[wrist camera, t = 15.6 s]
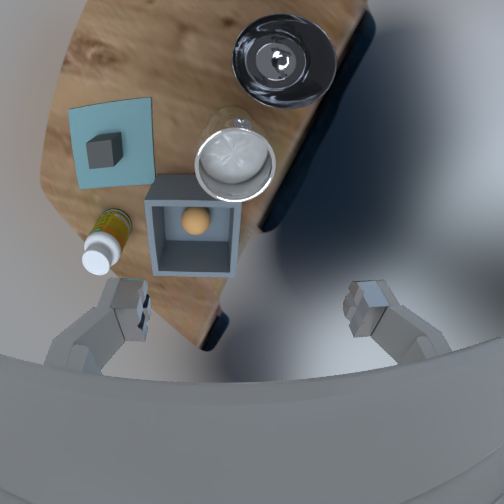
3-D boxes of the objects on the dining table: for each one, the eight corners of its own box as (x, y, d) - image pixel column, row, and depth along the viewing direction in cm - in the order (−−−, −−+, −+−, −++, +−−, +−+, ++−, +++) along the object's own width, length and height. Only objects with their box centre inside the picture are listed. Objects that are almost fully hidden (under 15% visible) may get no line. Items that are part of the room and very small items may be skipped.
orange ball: (182, 200, 39) (178, 213, 36) (211, 200, 39) (210, 214, 36) (183, 225, 41) (180, 240, 38) (210, 225, 42) (209, 241, 39)
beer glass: (192, 135, 35) (175, 177, 23) (224, 92, 32) (226, 107, 20) (235, 163, 38) (243, 219, 25) (268, 123, 35) (296, 158, 23)
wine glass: (304, 54, 29) (354, 49, 17) (273, 103, 33) (304, 127, 21) (248, 23, 26) (265, -5, 14) (216, 75, 30) (212, 80, 18)
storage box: (157, 174, 37) (144, 199, 31) (238, 175, 39) (242, 201, 32) (162, 241, 44) (153, 275, 37) (233, 243, 45) (235, 277, 39)
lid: (71, 108, 30) (54, 115, 26) (152, 96, 31) (143, 101, 27) (82, 186, 37) (68, 201, 33) (157, 181, 38) (149, 196, 34)
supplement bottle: (113, 201, 39) (90, 238, 31) (139, 224, 41) (122, 265, 34) (94, 223, 40) (70, 261, 32) (118, 244, 43) (100, 285, 35)
